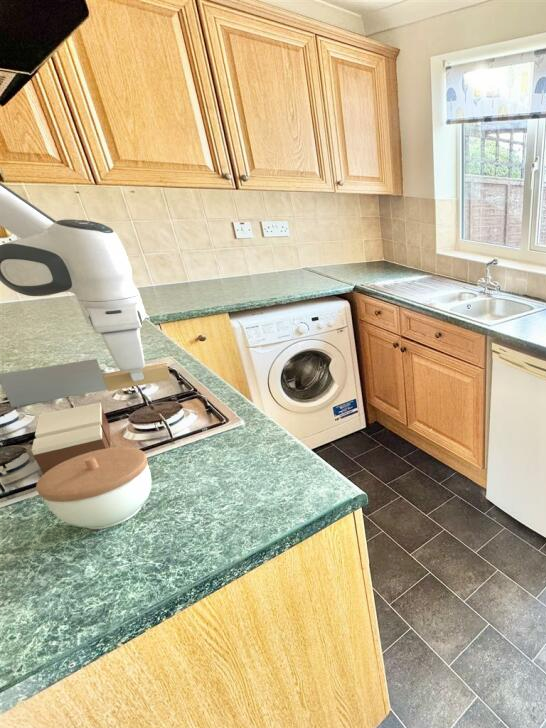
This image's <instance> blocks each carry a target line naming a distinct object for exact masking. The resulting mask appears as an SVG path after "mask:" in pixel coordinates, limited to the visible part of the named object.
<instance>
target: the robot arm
mask: <svg viewBox="0 0 546 728" xmlns="http://www.w3.org/2000/svg"><path fill="white" fill-rule="evenodd" d="M0 227H2V228H4V229H6V231H8V232H10V233H11V234H13V235H14V236H15V237H17V238H18V239H15V240H11V241H8V242H5V243H2V244H0V282H1V283H2V284H3V285H4V286H6V287H7V288H8V289H10V290H12V291H14V292H16V293H17V294H19V295H23V296H28V297H47V296H48V297H49V296H53V295H57V294H61V293H72V294H74V295H75V297H76V299H77V302H78V304H79V305H78V306H79V307H80V310H81V312H82V315H83V317H84V320H85V322H86V324H88V325H90V326H91V327H92V329H93V331H94V332H95V333H96V334H100V336H101V338H102V340H103V343H104V344H105V346H106V349H107V350H108V352H109V354H110V356H111V358H112V360H113V362H114V364H115V365H116V366H117V368H118V369H119V371H122V372H127V371H129V373H130V375H131V377H132V380H133V381H139V380H143V379H144V376H143V373H142V370H141V369H143V368H144V367H146V361H145V355H144V350H143V344H142V339H141V328H142V325H143V322H144V320H145V319H146V318H147V312H146V309H145V306H144V303H143V299H142V296H141V293H140V290H139V289H138V287H137V286H136V284H135V283H134V280H133V268H132V265H131V263H130V259H129V257H128V255H127V252H126V250H125V247H124V245H123V243H122V241H121V239H120V238H119V235H118V234H117V233H116V232H115V230H114V229H112V228H111V227H109V226H107V225H106V224H103V223H100V222H95V221H91V220H85V219H73V218H72V219H68V218H67V219H59V220H55V219H54V218H53V217H51V216H50V215H48V214H47V213H45V212H44V211H42V210H41V209H40V208H38V207H37V206H36V205H34V204H32V203H31V202H29V201H28V200H26V199H25V198H23V197H22V196H21V195H19V194H18V193H16V191H13V190H12V189H11V188H9V187H7V186H6V185H5V184H3V183H1V182H0Z"/></svg>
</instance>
